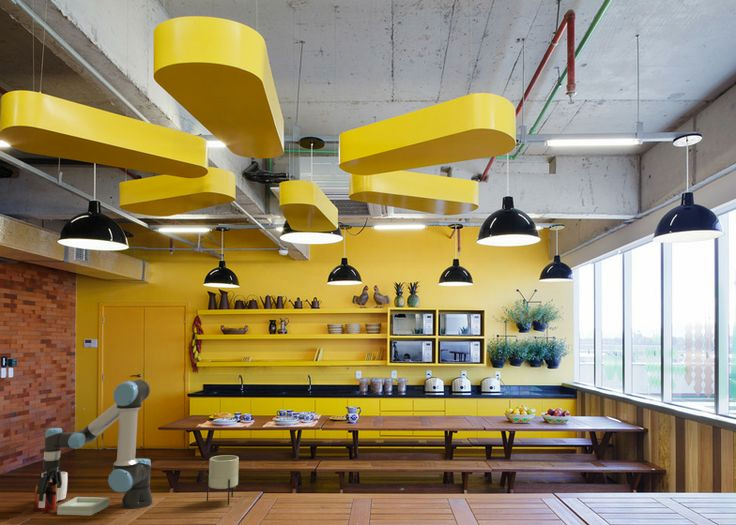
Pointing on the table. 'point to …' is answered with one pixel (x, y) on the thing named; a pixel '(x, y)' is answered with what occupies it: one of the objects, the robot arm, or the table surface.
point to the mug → (47, 498)
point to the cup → (62, 486)
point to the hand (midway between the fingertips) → (48, 504)
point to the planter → (223, 473)
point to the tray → (83, 506)
